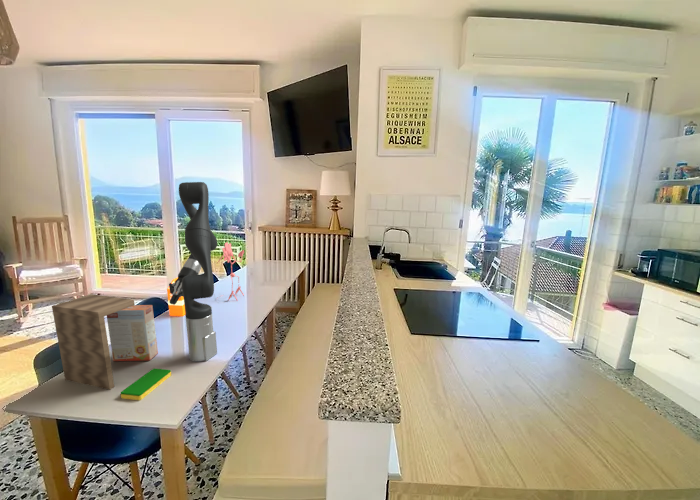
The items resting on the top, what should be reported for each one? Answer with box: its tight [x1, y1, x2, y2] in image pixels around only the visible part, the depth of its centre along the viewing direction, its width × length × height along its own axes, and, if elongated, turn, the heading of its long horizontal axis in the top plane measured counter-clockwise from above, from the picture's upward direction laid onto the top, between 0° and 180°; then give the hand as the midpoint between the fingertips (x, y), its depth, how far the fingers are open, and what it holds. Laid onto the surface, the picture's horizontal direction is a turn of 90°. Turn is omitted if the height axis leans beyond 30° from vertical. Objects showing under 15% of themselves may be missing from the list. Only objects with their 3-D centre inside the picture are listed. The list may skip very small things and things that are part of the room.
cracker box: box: [106, 304, 159, 362], centre depth 117 cm, size 14×6×21 cm, turn 92°
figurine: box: [216, 241, 245, 302], centre depth 184 cm, size 15×26×35 cm, turn 175°
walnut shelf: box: [51, 293, 135, 391], centre depth 105 cm, size 20×12×27 cm, turn 76°
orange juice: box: [166, 276, 185, 317], centre depth 161 cm, size 8×9×20 cm
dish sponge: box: [120, 368, 172, 401], centre depth 101 cm, size 7×14×2 cm, turn 172°
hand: (172, 303), depth 134 cm, fingers closed
